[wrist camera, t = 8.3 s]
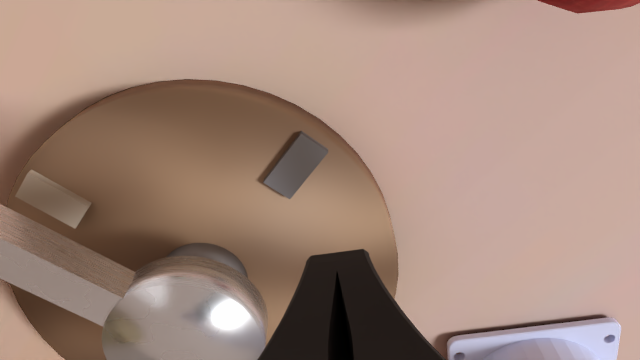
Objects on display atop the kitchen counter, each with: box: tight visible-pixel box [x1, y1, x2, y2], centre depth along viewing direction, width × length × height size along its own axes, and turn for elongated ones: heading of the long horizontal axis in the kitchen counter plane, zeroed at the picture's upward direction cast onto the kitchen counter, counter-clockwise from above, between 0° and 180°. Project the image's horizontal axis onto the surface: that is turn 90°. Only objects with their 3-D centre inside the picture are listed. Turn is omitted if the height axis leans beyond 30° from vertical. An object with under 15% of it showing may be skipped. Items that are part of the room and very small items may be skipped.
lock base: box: [6, 79, 398, 360], centre depth 22 cm, size 16×16×4 cm
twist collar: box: [0, 204, 268, 360], centre depth 18 cm, size 14×6×2 cm, turn 55°
